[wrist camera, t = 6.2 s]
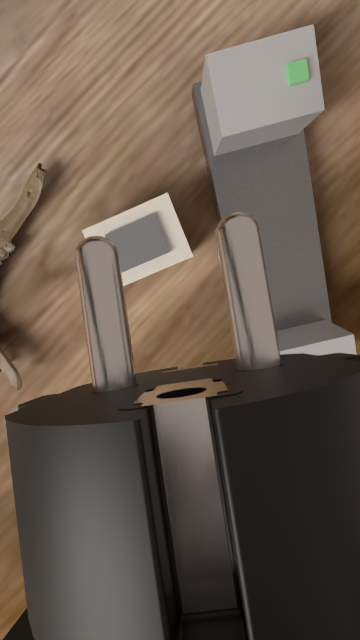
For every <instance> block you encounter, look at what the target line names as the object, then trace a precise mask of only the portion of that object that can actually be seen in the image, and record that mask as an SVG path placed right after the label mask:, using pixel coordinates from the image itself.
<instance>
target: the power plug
mask: <svg viewBox="0 0 360 640" xmlns="http://www.w3.org/2000/svg"><path fill="white" fill-rule="evenodd" d="M216 241H217V248H218V254H219V260H220V266H221V272H222V279H223V285H224V291H225V297H226V304H227V310H228V316H229V322H230V328H231V335H232V341H233V347H234V353H235V359H229V360H221V361H214V362H206V363H203V365H200V366H193V367H187V368H180V369H178V367H172V368H166V369H160V370H155V371H149V372H143V373H138V374H135V367H134V360H133V353H132V346H131V339H130V331H129V324H128V317H127V310H126V303H125V296H124V289H123V282H122V275H121V268H120V261H119V254H118V251H117V248H116V246H115V244H114V243H113V242H112V241H111V240H109V239H107V238H105V237H102V236H91V237H88V238H86V239H84V240H83V241H81V242H80V243H79V245H78V247H77V249H76V256H75V258H76V266H77V273H78V281H79V288H80V296H81V303H82V311H83V318H84V326H85V333H86V341H87V348H88V356H89V363H90V370H91V378H92V383H90V384H86V385H82V386H78V387H75V388H73V389H70V390H68V391H65V392H63V393H60V394H53V395H46V396H41V397H39V398H36V399H33V400H31V401H28V402H25V403H23V404H20V405H18V409H19V410H18V411H16V412H13V413H11V414H8V415H6V416H5V420H6V428H7V437H8V446H9V454H10V463H11V472H12V480H13V489H14V498H15V506H16V515H17V524H18V532H19V541H20V550H21V558H22V567H23V576H24V584H25V593H26V602H27V611H28V619H29V623H30V627H31V631H32V634H33V637H34V639H35V640H360V355H355V354H346V353H333V354H326V355H312V354H305V353H299V354H282V355H280V350H279V344H278V338H277V332H276V326H275V320H274V314H273V308H272V303H271V297H270V291H269V285H268V279H267V273H266V267H265V261H264V255H263V249H262V243H261V237H260V232H259V226H258V224H257V221H256V220H255V219H254V218H253V217H252V216H251V215H250V214H247V213H244V212H234V213H230V214H228V215H226V216H225V217H224V218H223V219H221V220H220V222H219V223H218V226H217V228H216Z"/></svg>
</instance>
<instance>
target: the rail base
mask: <svg viewBox="0 0 360 640" xmlns="http://www.w3.org/2000/svg"><path fill="white" fill-rule="evenodd" d="M201 83H202V82H198V83H195V84H193V89H192V98H193V103H194V107H195V112H196V117H197V122H198V126H199V131H200V136H201V141H202V145H203V150H204V155H205V160H206V164H207V169H208V174H209V179H210V183H211V188H212V193H213V198H214V202H215V207H216V212H217V216H218V221H219V222H220V220H221V219H223V218H224V217H225V216H226V215H228V214H230V213H234V212H244V213H247V214H250V215H251V216H252V217H253V218H254V219H255V220H256V221H257V224H258V226H259V232H260V237H261V243H262V249H263V255H264V261H265V267H266V273H267V279H268V285H269V291H270V297H271V303H272V308H273V314H274V320H275V326H276V331H279V330H284V329H288V328H292V327H296V326H301V325H305V324H309V323H313V322H317V321H322V320H328V321H330V322H331V323H332V321H331V314H330V307H329V300H328V293H327V286H326V279H325V272H324V265H323V259H322V252H321V245H320V238H319V231H318V224H317V217H316V210H315V203H314V196H313V190H312V183H311V176H310V169H309V162H308V155H307V148H306V141H305V134H304V129H303V130H302V131H301V132H300V133H299V134H296V135H292V136H288V137H284V138H281V139H277V140H273V141H269V142H265V143H262V144H258V145H254V146H250V147H247V148H243V149H239V150H235V151H231V152H228V153H224V154H220V155H216V156H214V152H213V148H212V143H211V138H210V133H209V128H208V123H207V118H206V113H205V109H204V104H203V99H202V94H201Z"/></svg>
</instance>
